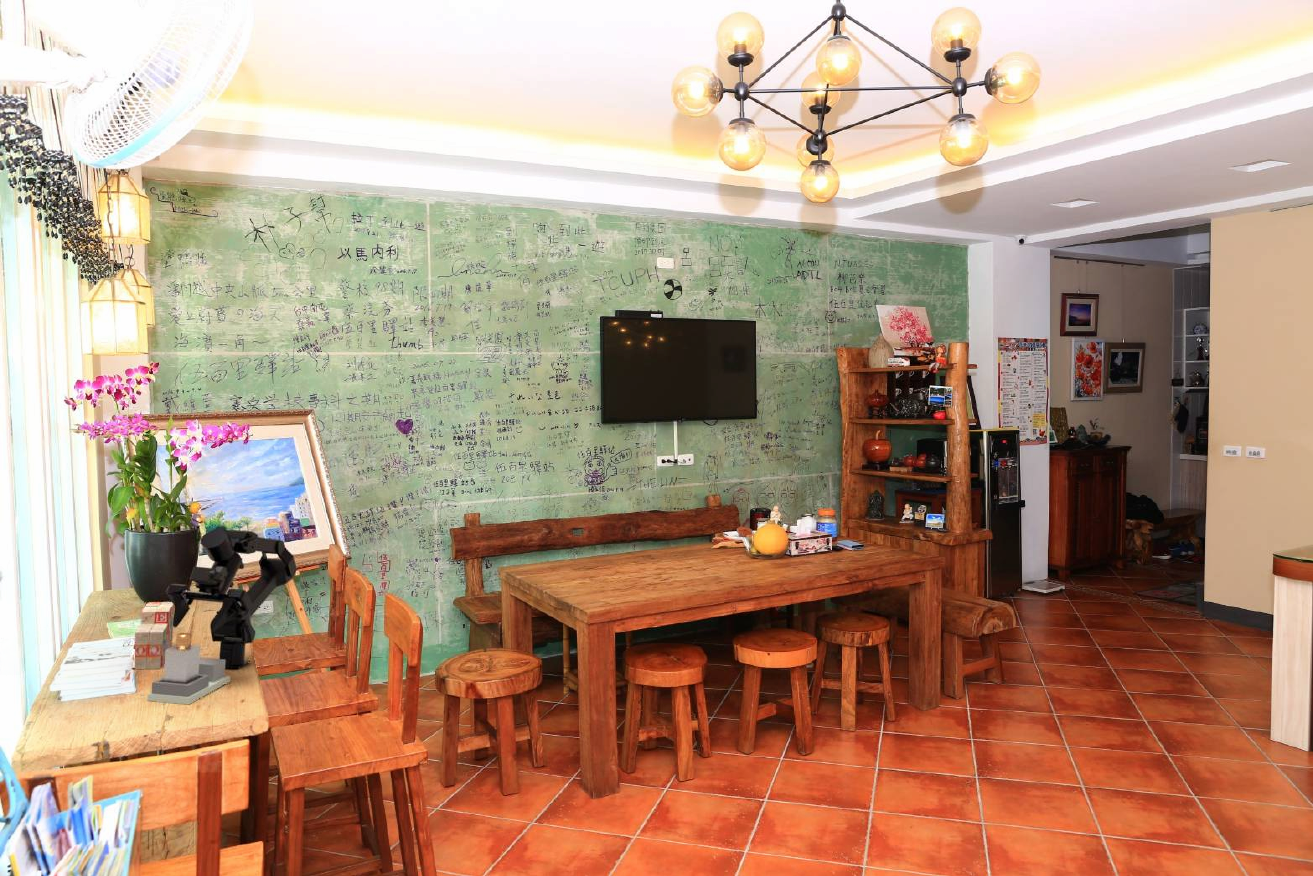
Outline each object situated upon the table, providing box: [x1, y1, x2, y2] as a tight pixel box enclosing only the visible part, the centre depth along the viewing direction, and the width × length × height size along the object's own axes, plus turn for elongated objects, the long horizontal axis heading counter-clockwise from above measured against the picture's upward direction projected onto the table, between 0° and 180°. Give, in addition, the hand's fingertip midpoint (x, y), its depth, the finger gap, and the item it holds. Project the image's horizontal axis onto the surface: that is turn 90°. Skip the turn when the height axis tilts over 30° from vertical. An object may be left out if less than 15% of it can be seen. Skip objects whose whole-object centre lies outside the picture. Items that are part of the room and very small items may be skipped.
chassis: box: [147, 656, 231, 705], centre depth 203 cm, size 17×9×6 cm, turn 177°
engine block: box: [163, 632, 201, 684], centre depth 198 cm, size 5×5×12 cm
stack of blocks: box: [133, 601, 175, 670], centre depth 226 cm, size 21×6×12 cm, turn 22°
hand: (193, 628), depth 206 cm, fingers open, 9 cm apart
